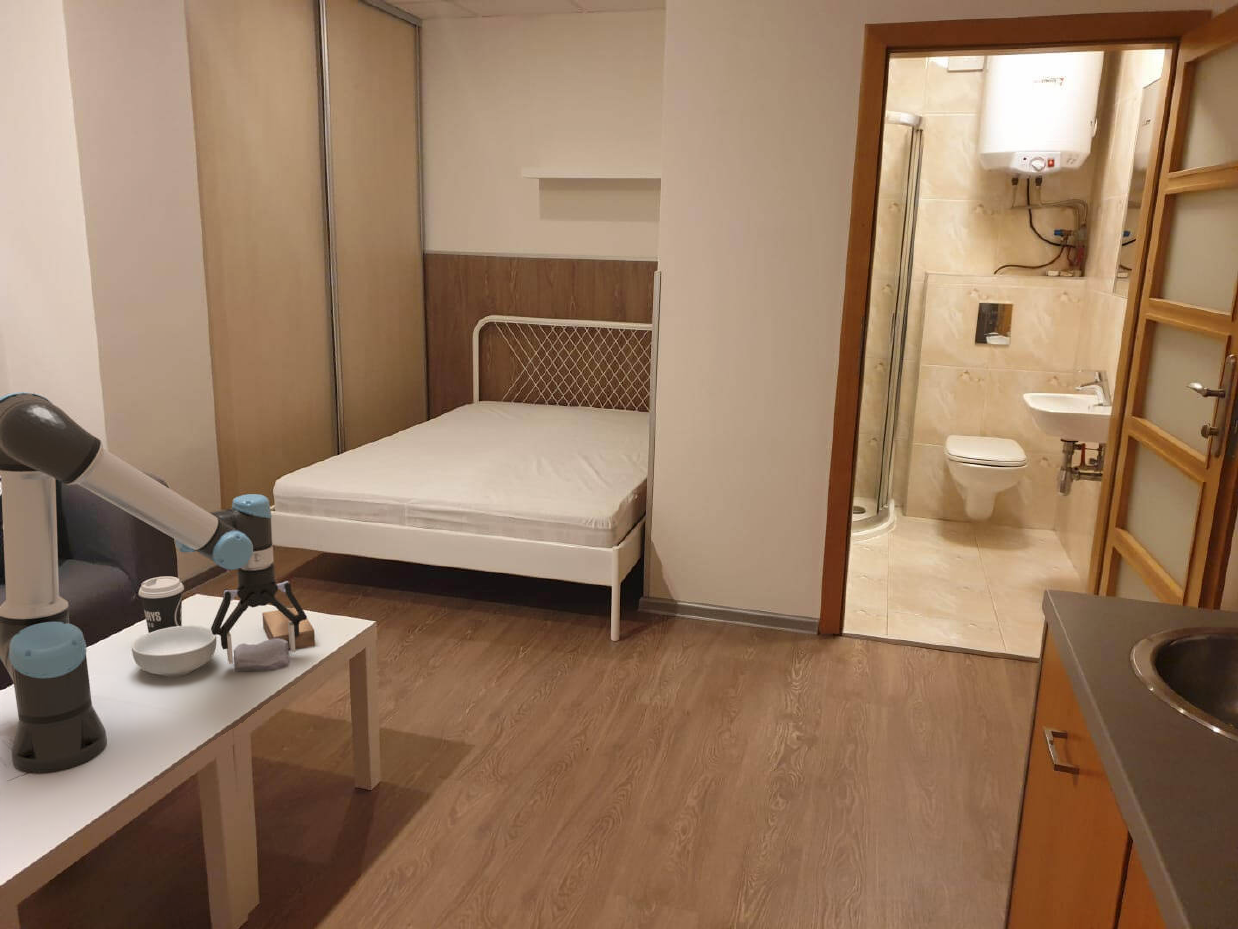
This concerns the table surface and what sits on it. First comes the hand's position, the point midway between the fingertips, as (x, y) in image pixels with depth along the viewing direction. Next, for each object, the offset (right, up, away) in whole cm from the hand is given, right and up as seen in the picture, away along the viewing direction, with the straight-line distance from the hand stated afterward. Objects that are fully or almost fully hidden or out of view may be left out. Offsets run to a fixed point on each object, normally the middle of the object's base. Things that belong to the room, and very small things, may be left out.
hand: (262, 655), depth 214 cm
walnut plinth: (+1, +2, +15) cm, 15 cm away
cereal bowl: (-18, -3, -2) cm, 18 cm away
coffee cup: (-26, +1, +11) cm, 29 cm away
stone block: (0, -2, +1) cm, 3 cm away
